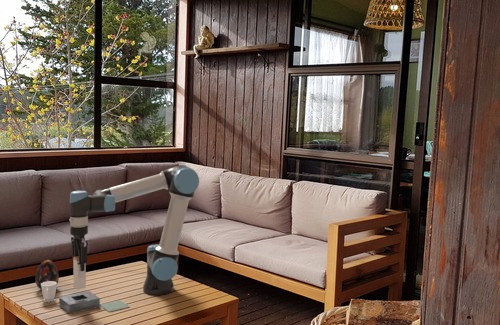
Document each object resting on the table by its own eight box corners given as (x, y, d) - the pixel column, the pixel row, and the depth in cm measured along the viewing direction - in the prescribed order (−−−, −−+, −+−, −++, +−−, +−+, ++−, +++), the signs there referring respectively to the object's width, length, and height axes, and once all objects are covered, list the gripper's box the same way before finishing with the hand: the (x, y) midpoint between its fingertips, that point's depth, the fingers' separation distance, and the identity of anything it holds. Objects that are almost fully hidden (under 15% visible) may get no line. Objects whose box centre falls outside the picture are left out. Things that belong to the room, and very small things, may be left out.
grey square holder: (88, 299, 244) (88, 290, 243) (99, 306, 235) (99, 298, 234) (59, 305, 235) (59, 296, 234) (69, 313, 226) (69, 304, 225)
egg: (48, 284, 262) (48, 255, 260) (63, 288, 257) (63, 259, 255) (30, 290, 252) (30, 260, 251) (45, 294, 247) (45, 264, 246)
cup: (57, 297, 245) (57, 280, 244) (55, 304, 235) (55, 287, 235) (42, 298, 243) (42, 281, 243) (38, 305, 234) (38, 288, 233)
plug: (82, 285, 237) (81, 255, 235) (85, 287, 234) (85, 257, 232) (73, 287, 234) (73, 256, 233) (77, 289, 231) (76, 259, 230)
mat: (119, 300, 243) (119, 300, 243) (129, 307, 235) (129, 306, 235) (99, 305, 236) (99, 304, 236) (109, 312, 229) (109, 311, 229)
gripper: (63, 223, 235) (64, 273, 237) (78, 230, 222) (79, 282, 224) (79, 221, 240) (80, 270, 242) (95, 227, 227) (95, 279, 229)
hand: (79, 276), depth 233 cm, fingers closed on plug, 4 cm apart
